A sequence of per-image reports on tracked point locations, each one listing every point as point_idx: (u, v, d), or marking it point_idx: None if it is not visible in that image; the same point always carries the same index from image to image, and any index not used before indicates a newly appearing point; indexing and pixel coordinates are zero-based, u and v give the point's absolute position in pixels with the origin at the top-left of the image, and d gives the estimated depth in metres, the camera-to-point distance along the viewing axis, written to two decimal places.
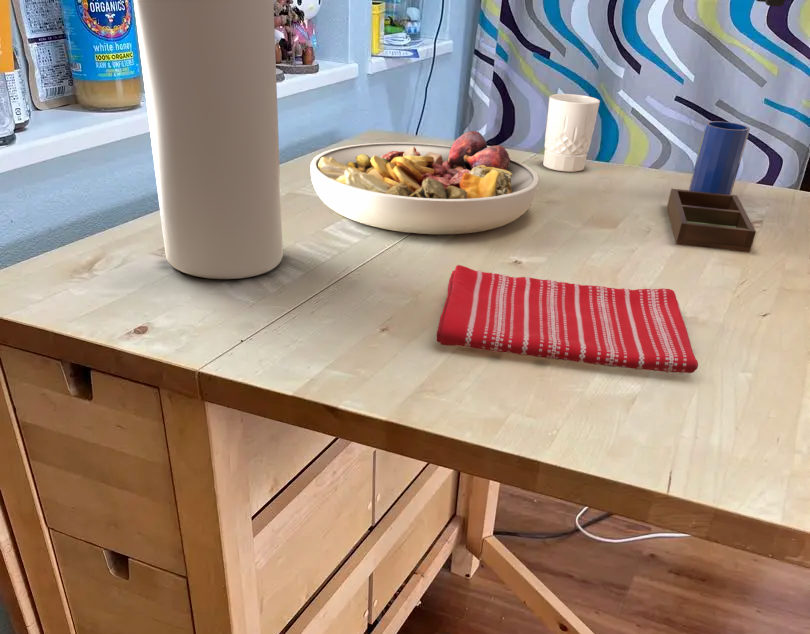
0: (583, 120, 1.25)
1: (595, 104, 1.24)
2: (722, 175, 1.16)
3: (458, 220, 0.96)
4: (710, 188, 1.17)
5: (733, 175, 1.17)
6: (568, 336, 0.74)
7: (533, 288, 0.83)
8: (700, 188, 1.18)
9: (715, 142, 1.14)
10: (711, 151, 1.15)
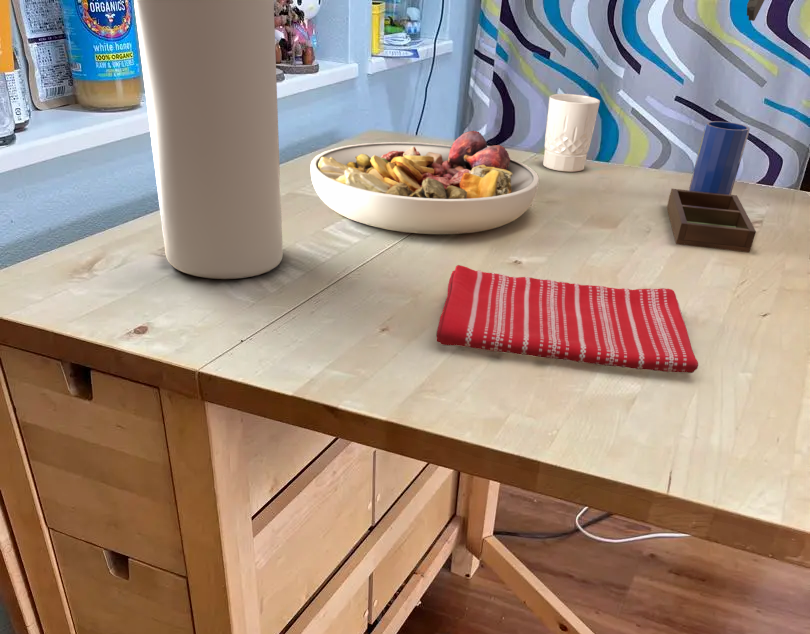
0: (583, 120, 1.25)
1: (595, 104, 1.24)
2: (722, 175, 1.16)
3: (458, 220, 0.96)
4: (710, 188, 1.17)
5: (733, 175, 1.17)
6: (568, 335, 0.74)
7: (533, 288, 0.83)
8: (700, 188, 1.18)
9: (715, 142, 1.14)
10: (711, 151, 1.15)
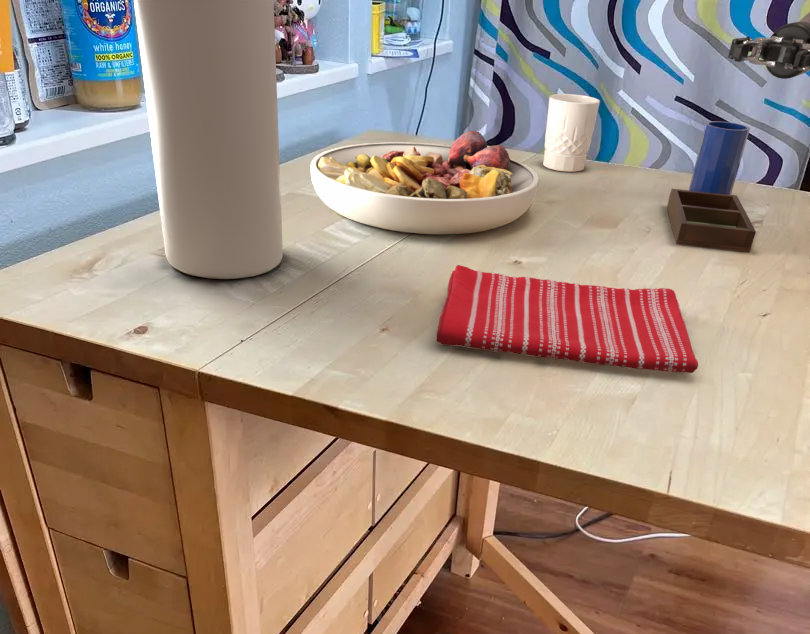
0: (583, 120, 1.25)
1: (595, 104, 1.24)
2: (722, 175, 1.16)
3: (458, 220, 0.96)
4: (710, 188, 1.17)
5: (733, 175, 1.17)
6: (568, 335, 0.74)
7: (533, 288, 0.83)
8: (700, 188, 1.18)
9: (715, 142, 1.14)
10: (711, 151, 1.15)
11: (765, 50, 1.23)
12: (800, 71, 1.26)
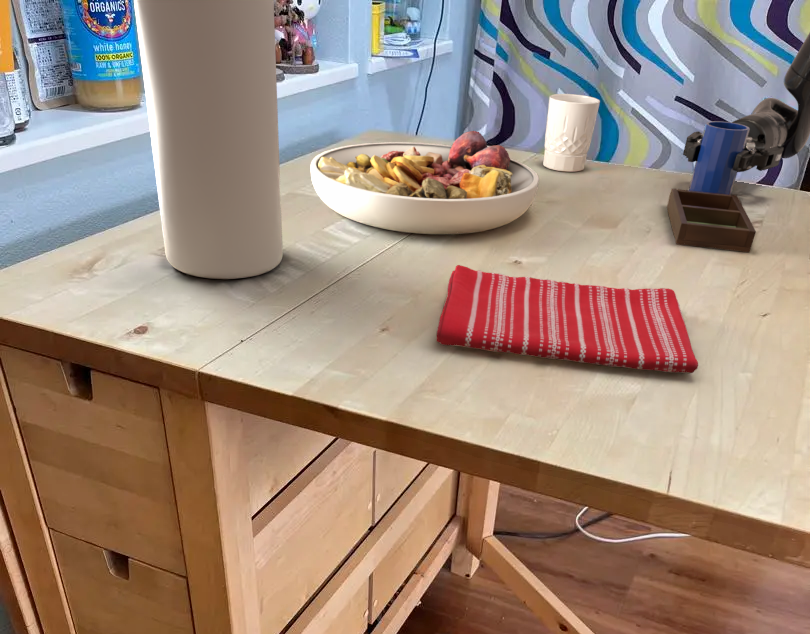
0: (583, 120, 1.25)
1: (595, 104, 1.24)
2: (722, 175, 1.16)
3: (458, 220, 0.96)
4: (710, 188, 1.17)
5: (733, 175, 1.17)
6: (568, 335, 0.74)
7: (533, 288, 0.83)
8: (700, 188, 1.18)
9: (715, 142, 1.14)
10: (711, 151, 1.15)
11: None
12: (752, 166, 1.24)
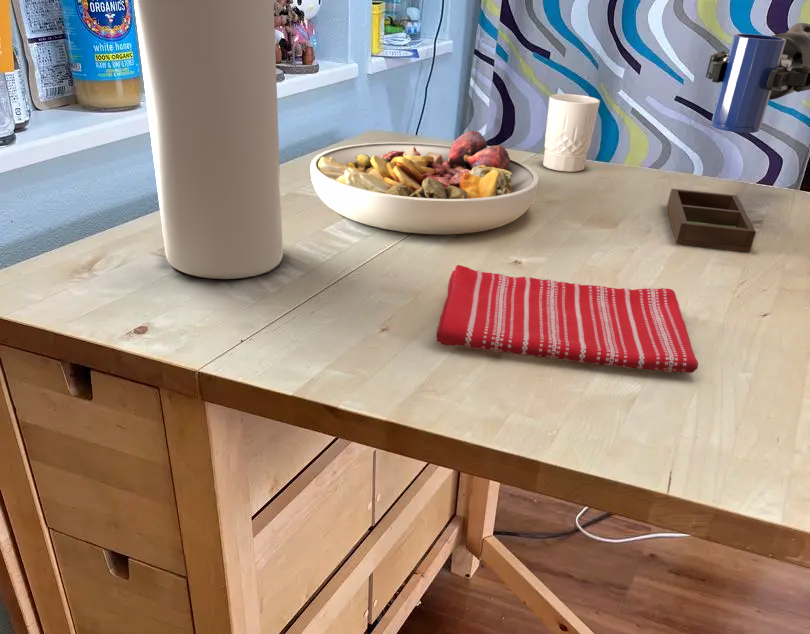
0: (583, 120, 1.25)
1: (595, 104, 1.24)
2: (753, 96, 0.99)
3: (458, 220, 0.96)
4: (738, 112, 1.00)
5: (766, 97, 0.99)
6: (568, 335, 0.74)
7: (533, 288, 0.83)
8: (727, 113, 1.01)
9: (745, 55, 0.97)
10: (740, 67, 0.98)
11: None
12: (786, 91, 1.07)
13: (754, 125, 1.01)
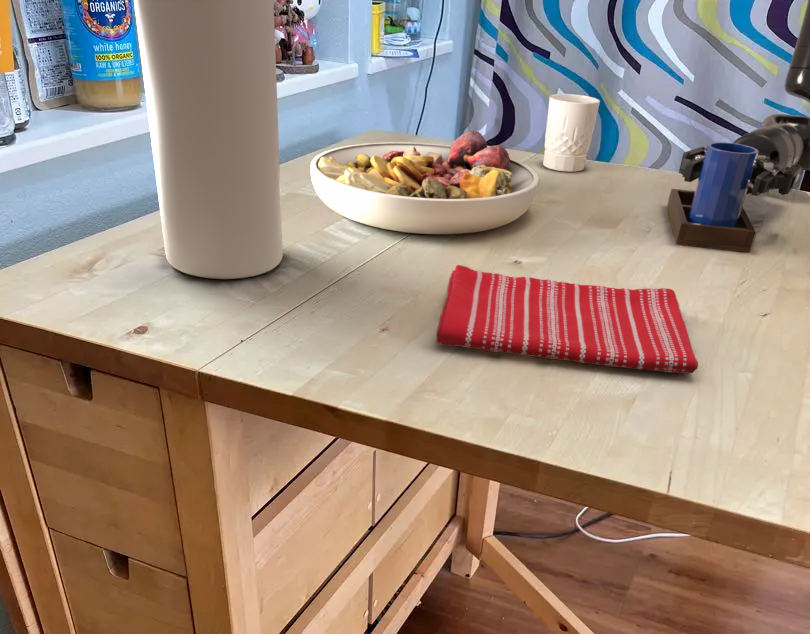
0: (583, 120, 1.25)
1: (595, 104, 1.24)
2: (726, 205, 1.00)
3: (458, 220, 0.96)
4: (712, 219, 1.01)
5: (739, 205, 1.01)
6: (568, 335, 0.74)
7: (533, 288, 0.83)
8: (701, 219, 1.02)
9: (718, 167, 0.98)
10: (713, 177, 0.99)
11: None
12: None
13: None
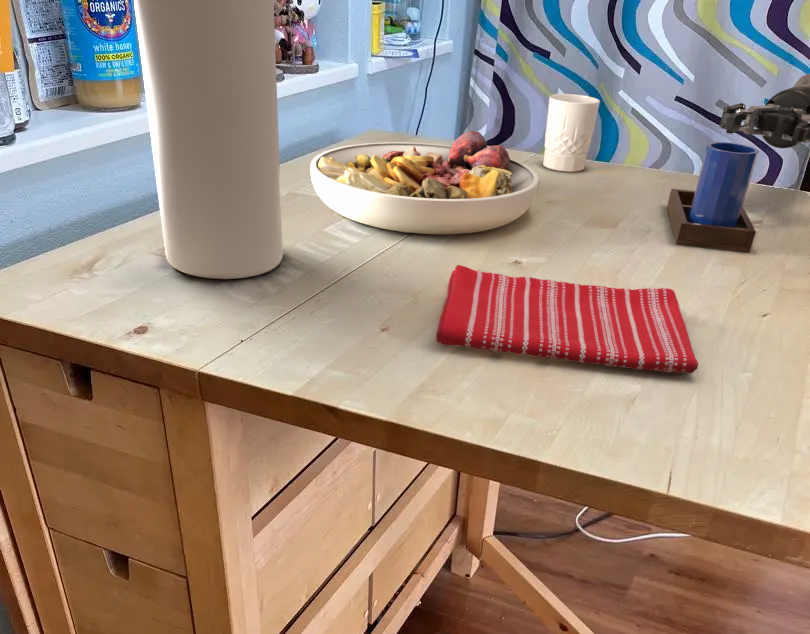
0: (583, 120, 1.25)
1: (595, 104, 1.24)
2: (726, 205, 1.00)
3: (458, 220, 0.96)
4: (712, 219, 1.01)
5: (739, 205, 1.01)
6: (568, 335, 0.74)
7: (533, 288, 0.83)
8: (701, 219, 1.02)
9: (718, 167, 0.98)
10: (713, 177, 0.99)
11: (760, 119, 1.11)
12: None
13: None
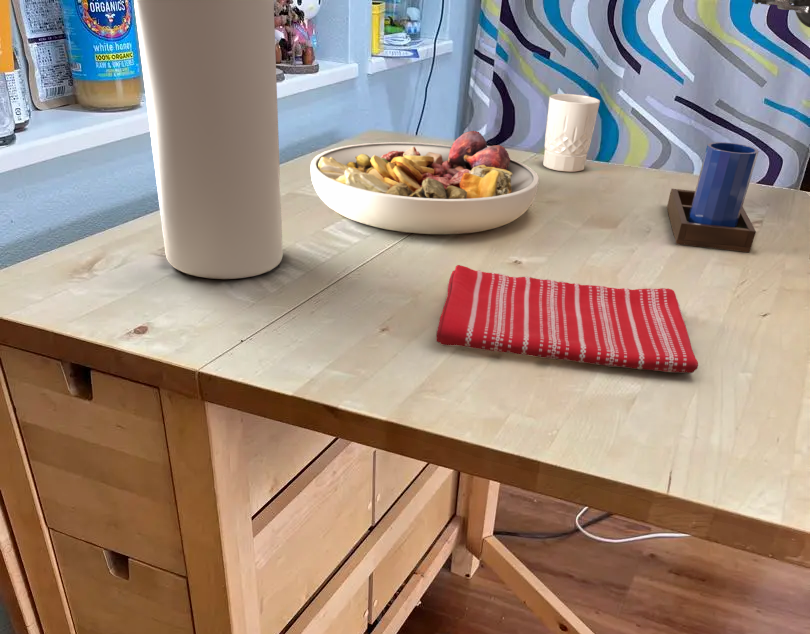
0: (583, 120, 1.25)
1: (595, 104, 1.24)
2: (726, 205, 1.00)
3: (458, 220, 0.96)
4: (712, 219, 1.01)
5: (739, 205, 1.01)
6: (568, 335, 0.74)
7: (533, 288, 0.83)
8: (701, 219, 1.02)
9: (718, 167, 0.98)
10: (713, 177, 0.99)
11: None
12: None
13: None
